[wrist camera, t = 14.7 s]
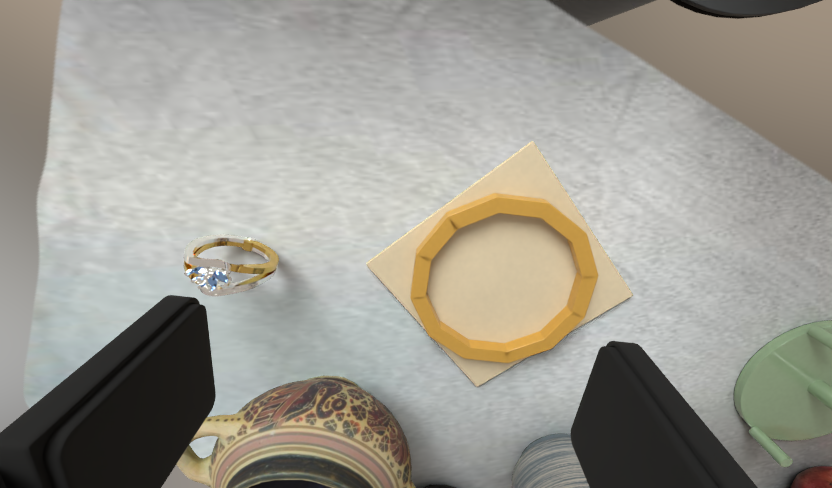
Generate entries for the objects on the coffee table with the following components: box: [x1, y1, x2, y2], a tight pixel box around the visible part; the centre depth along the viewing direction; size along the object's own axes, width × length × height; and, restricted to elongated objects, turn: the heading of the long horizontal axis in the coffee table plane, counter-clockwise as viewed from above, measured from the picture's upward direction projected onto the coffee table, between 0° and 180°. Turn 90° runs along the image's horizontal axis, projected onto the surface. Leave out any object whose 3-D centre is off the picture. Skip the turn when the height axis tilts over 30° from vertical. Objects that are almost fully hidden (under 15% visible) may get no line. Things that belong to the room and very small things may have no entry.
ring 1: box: [184, 235, 279, 296], centre depth 32 cm, size 7×3×8 cm, turn 69°
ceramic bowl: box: [176, 376, 416, 488], centre depth 36 cm, size 24×18×15 cm
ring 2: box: [410, 193, 599, 363], centre depth 36 cm, size 17×17×1 cm
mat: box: [366, 141, 633, 387], centre depth 37 cm, size 18×18×1 cm
